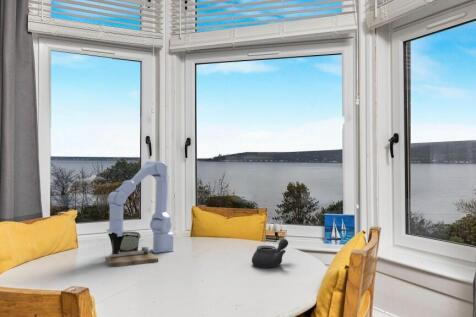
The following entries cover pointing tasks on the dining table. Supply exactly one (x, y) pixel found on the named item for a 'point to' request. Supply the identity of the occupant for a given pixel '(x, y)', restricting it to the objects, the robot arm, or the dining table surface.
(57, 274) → the dining table surface
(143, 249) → the lever
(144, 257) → the walnut board
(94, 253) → the dining table surface
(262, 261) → the teapot
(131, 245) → the food container
